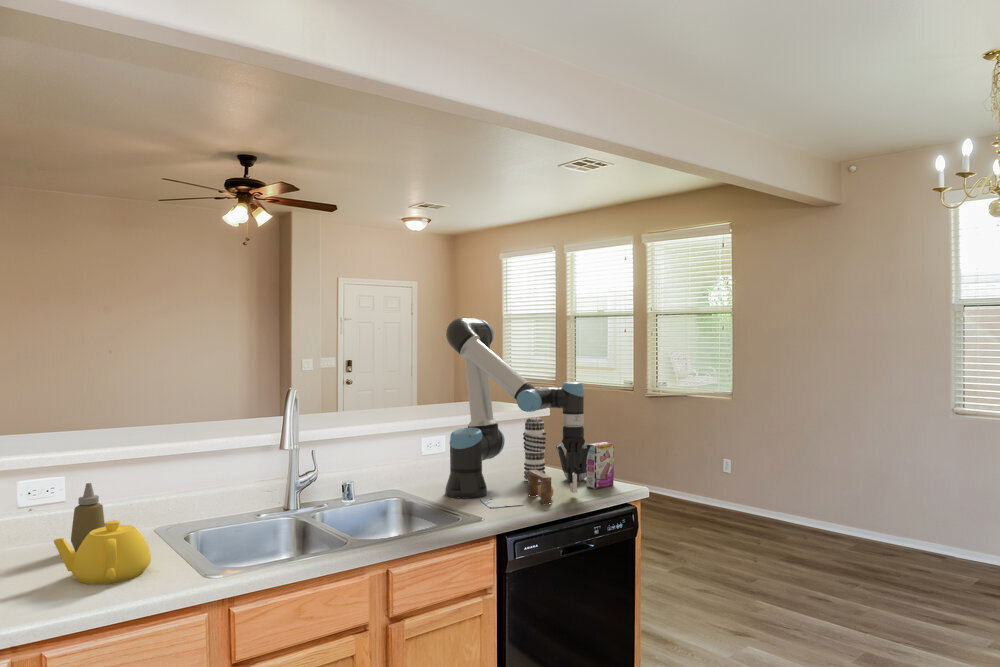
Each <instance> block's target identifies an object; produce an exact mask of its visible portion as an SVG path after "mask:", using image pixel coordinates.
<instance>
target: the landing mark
mask: <svg viewBox="0 0 1000 667" xmlns="http://www.w3.org/2000/svg"><path fill="white" fill-rule="evenodd" d="M489 499H490V498H489ZM489 499H488V498H485V499H480V500H481V501H482V502H481V501H480V502H481V503H482V504H484V505H485V504H486V505H488V504H490V503H492V502H488V501H490V500H489ZM493 499H494V500H496V499H497V498H493ZM485 502H487V503H485ZM486 505H485V506H486ZM493 507H501V506H499V505H498V506H493Z"/></svg>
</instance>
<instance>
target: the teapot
mask: <svg viewBox="0 0 1000 667" xmlns="http://www.w3.org/2000/svg"><path fill="white" fill-rule="evenodd" d="M104 522H105V521H104ZM104 524H105V527H102V528H98V529H95V530H92V531H91V532H90V533H89V534H88V535H87V536H86V537H85V539H84V540H83V542H82V543H81V545H80V547H79V548H78V550H77V552H75V550H74V548H72V546H71V545H70V544H69V543H68V542H67V541H66V539H65V537H60V538H54V540H53V543H54V545H55V548H56V550H57V552H58V554H59V555H60V557H61V560H62V561H63V563H64V566H65V568H66V570H67V572H71V574H72V576H73V577H74V578H75V579H76V580H77V581H78V582H80V583H81V584H84V585H93V586H95V585H109V584H114V583H121V582H125V581H128V580H131V579H134V578H136V577H138V576H140V575H142V573H144V572H145V571H146V570H147V568H148V567H149V565H150V564H151V562H152V556H151V550H150V547H149V545H148V542H147V541H146V539H145V538H144V536H143V535H142V533H141V532H140V531H139V530H138V528H137V527H136V526H134V525H131V524H121V520H116V519H114V520H108V521H106V522H105V523H104Z"/></svg>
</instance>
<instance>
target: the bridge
mask: <svg viewBox="0 0 1000 667" xmlns="http://www.w3.org/2000/svg"><path fill="white" fill-rule="evenodd" d="M538 479H540V480H541V483H540V486H541V498H540V504H541V503H542V504H549V503H551V504H552V497H551V487H552V477H551V476H549V475H548V474H546V473H545V474H544V473H542V472H540V471H538V470H528V482H527V483H528V488H527V489H528V492H527V494H528V495H530V496H536V495H538V488H539V483H538ZM530 496H529V497H530ZM538 496H539V495H538ZM536 497H537V496H536ZM542 504H541V505H542Z"/></svg>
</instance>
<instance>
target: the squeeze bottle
mask: <svg viewBox="0 0 1000 667" xmlns="http://www.w3.org/2000/svg"><path fill="white" fill-rule="evenodd" d="M99 500H100V497H99V495H95V493H94V488H93V485H92V482H88V483H85V488H84V492H83V496H80V497H78V502H77V503H78V505H76V506H75V507H74V510H73V516H72V517H73V518H72V526H71V536H70V542H71V545H72V547H73V550H74V551H75V552H77V550H78V548H79V547H80V545H81V543H82V542H83V540H84V539H85V537H86V536H87V535H88V534H89V533H90V532H91V531H92V530H95V529H98V528H102V527H105V524H104V523H105V514H104V506H103V504H102V503H100V502H99Z"/></svg>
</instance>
